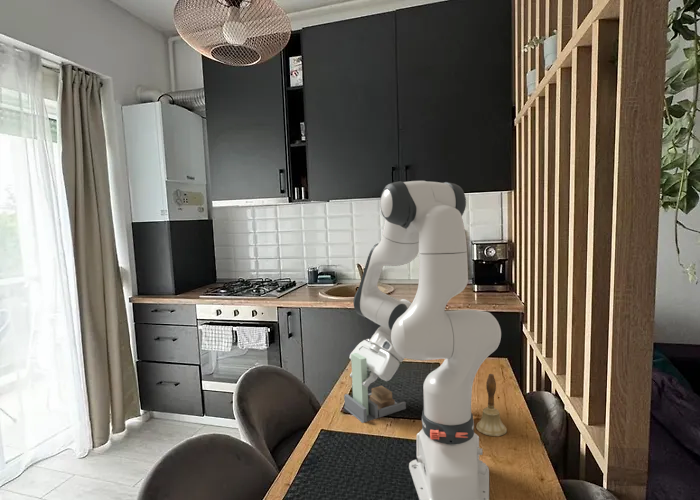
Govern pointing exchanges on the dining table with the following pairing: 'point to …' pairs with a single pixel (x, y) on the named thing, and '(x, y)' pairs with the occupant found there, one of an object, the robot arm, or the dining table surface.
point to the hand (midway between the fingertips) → (357, 381)
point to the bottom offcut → (382, 405)
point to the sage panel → (359, 379)
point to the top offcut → (381, 394)
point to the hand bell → (491, 413)
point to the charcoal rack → (370, 409)
